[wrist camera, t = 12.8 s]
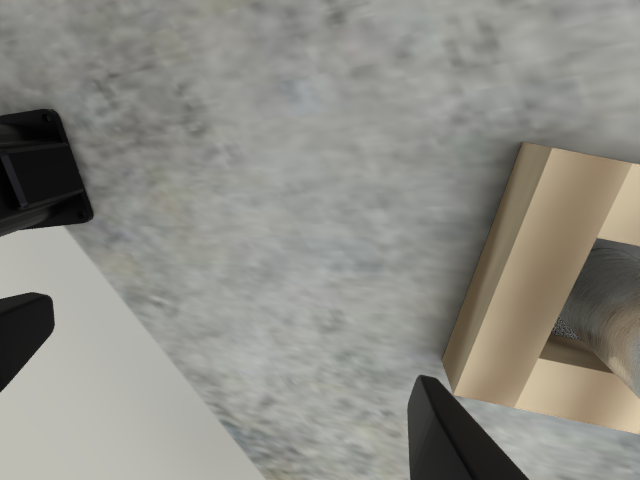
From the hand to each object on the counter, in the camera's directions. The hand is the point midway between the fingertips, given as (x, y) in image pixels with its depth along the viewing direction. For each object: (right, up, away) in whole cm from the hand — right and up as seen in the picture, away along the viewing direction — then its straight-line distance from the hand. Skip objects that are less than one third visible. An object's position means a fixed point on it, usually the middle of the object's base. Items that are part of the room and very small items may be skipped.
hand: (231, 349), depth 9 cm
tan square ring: (+18, 0, +12) cm, 22 cm away
